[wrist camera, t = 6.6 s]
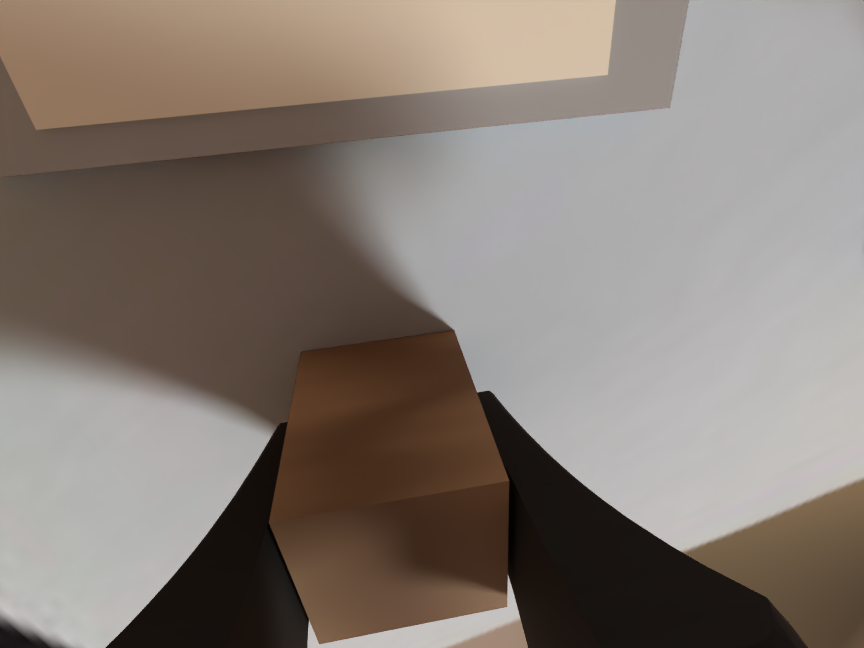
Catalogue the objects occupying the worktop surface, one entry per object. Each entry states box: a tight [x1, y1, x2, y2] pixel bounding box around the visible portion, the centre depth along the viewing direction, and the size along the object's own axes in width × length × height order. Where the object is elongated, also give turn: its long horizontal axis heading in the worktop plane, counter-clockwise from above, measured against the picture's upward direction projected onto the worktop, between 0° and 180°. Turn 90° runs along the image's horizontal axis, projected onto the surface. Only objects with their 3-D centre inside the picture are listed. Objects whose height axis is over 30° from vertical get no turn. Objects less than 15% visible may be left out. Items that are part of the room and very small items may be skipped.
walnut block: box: [269, 330, 509, 644], centre depth 11 cm, size 4×4×5 cm
